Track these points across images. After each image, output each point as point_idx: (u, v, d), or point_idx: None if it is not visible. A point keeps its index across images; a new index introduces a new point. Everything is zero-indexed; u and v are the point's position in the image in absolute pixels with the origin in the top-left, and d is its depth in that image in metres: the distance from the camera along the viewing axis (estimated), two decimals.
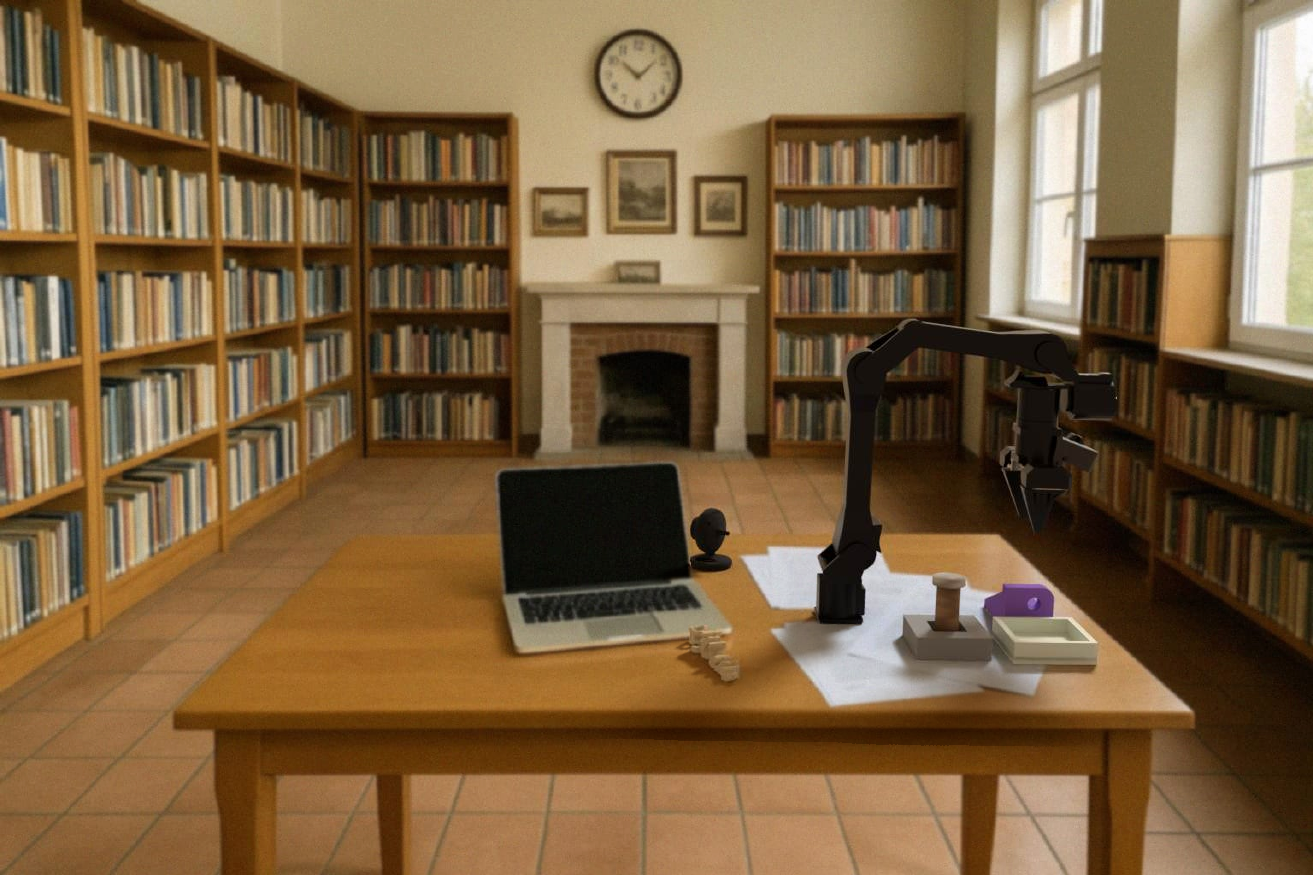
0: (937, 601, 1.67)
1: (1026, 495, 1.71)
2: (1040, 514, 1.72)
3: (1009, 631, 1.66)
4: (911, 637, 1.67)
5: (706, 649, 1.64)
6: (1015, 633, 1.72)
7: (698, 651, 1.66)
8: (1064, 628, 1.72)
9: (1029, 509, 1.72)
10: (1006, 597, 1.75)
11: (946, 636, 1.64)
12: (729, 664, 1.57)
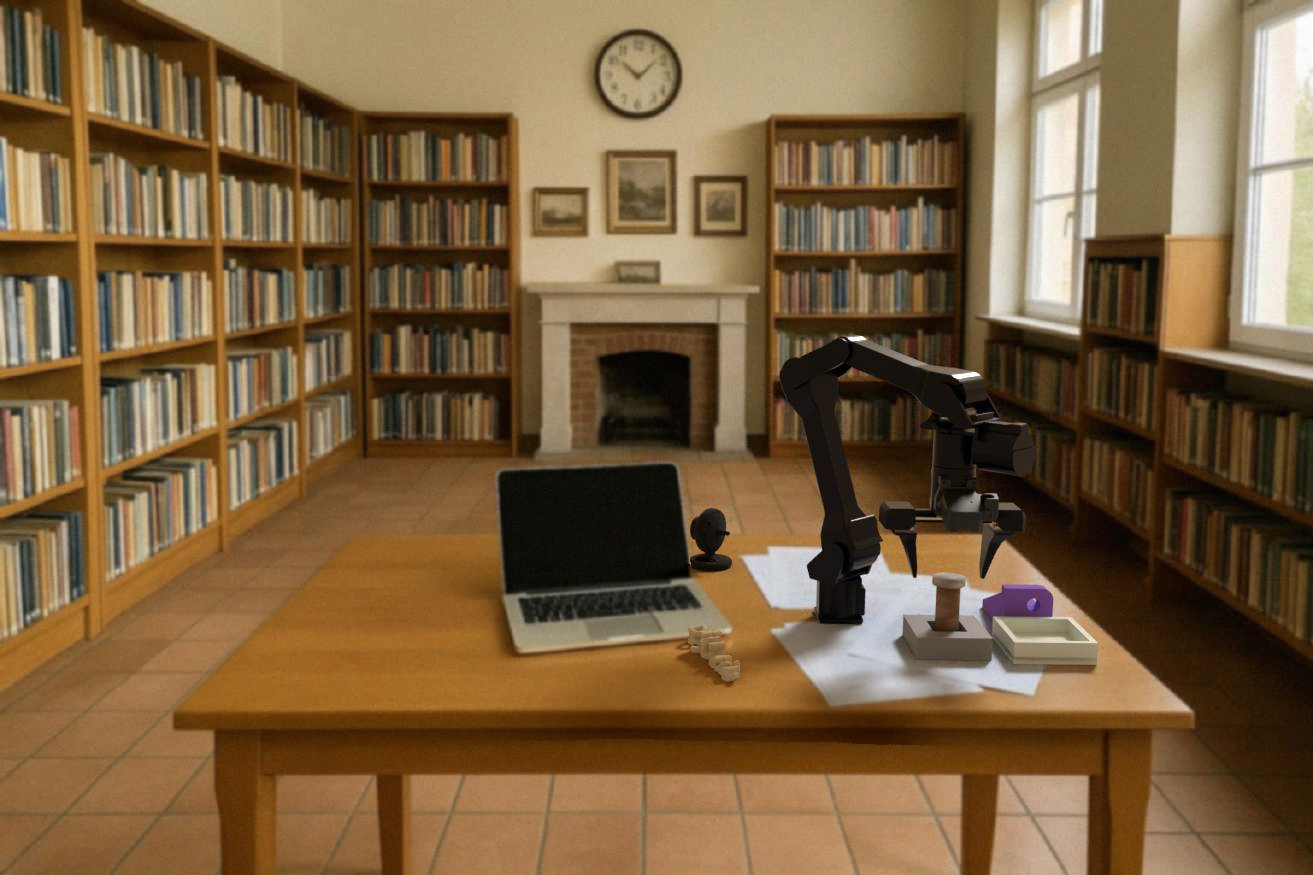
0: (937, 601, 1.67)
1: None
2: (907, 556, 1.67)
3: (1009, 631, 1.66)
4: (911, 637, 1.67)
5: (706, 649, 1.64)
6: (1015, 633, 1.72)
7: (698, 651, 1.66)
8: (1064, 628, 1.72)
9: (904, 548, 1.68)
10: (1005, 598, 1.75)
11: (946, 636, 1.64)
12: (729, 664, 1.57)
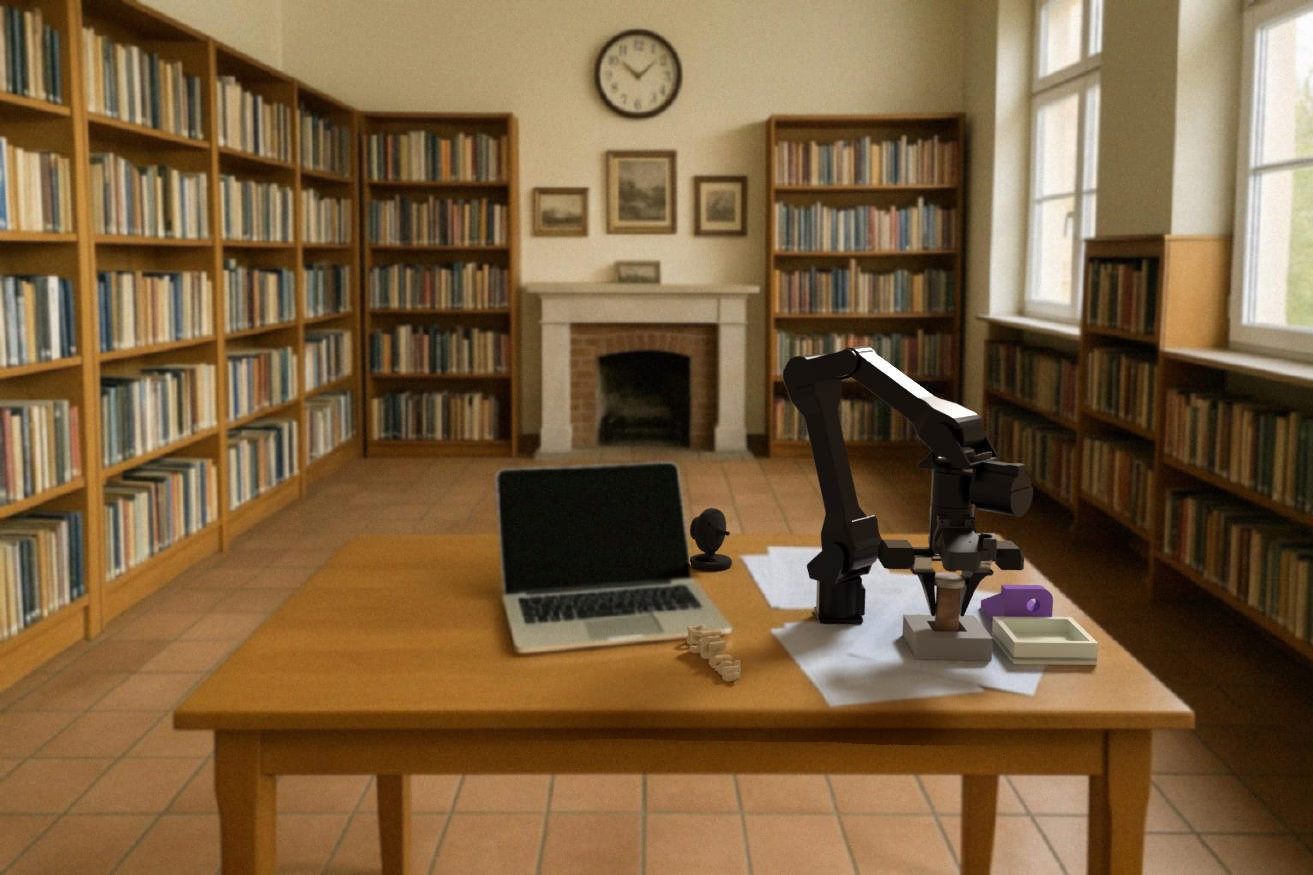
0: (937, 601, 1.67)
1: None
2: (926, 594, 1.68)
3: (1009, 631, 1.66)
4: (911, 637, 1.67)
5: (706, 649, 1.64)
6: (1015, 633, 1.72)
7: (697, 651, 1.66)
8: (1064, 628, 1.72)
9: (922, 586, 1.69)
10: (1005, 598, 1.74)
11: (946, 636, 1.64)
12: (730, 664, 1.57)
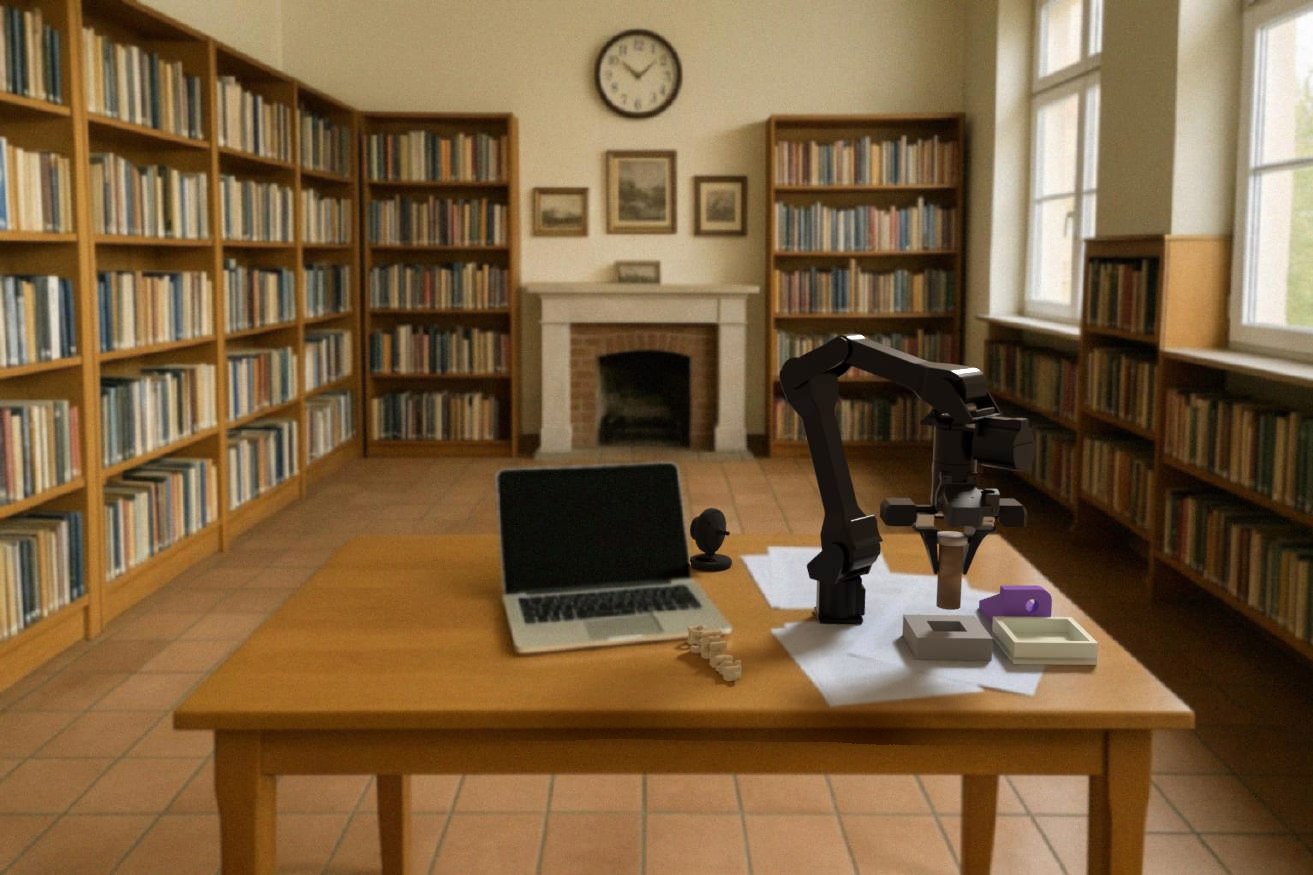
0: (939, 559, 1.66)
1: None
2: (928, 553, 1.67)
3: (1009, 631, 1.66)
4: (911, 637, 1.67)
5: (706, 649, 1.64)
6: (1015, 633, 1.72)
7: (698, 651, 1.66)
8: (1064, 628, 1.72)
9: None
10: (1004, 599, 1.74)
11: (946, 636, 1.64)
12: (731, 664, 1.57)
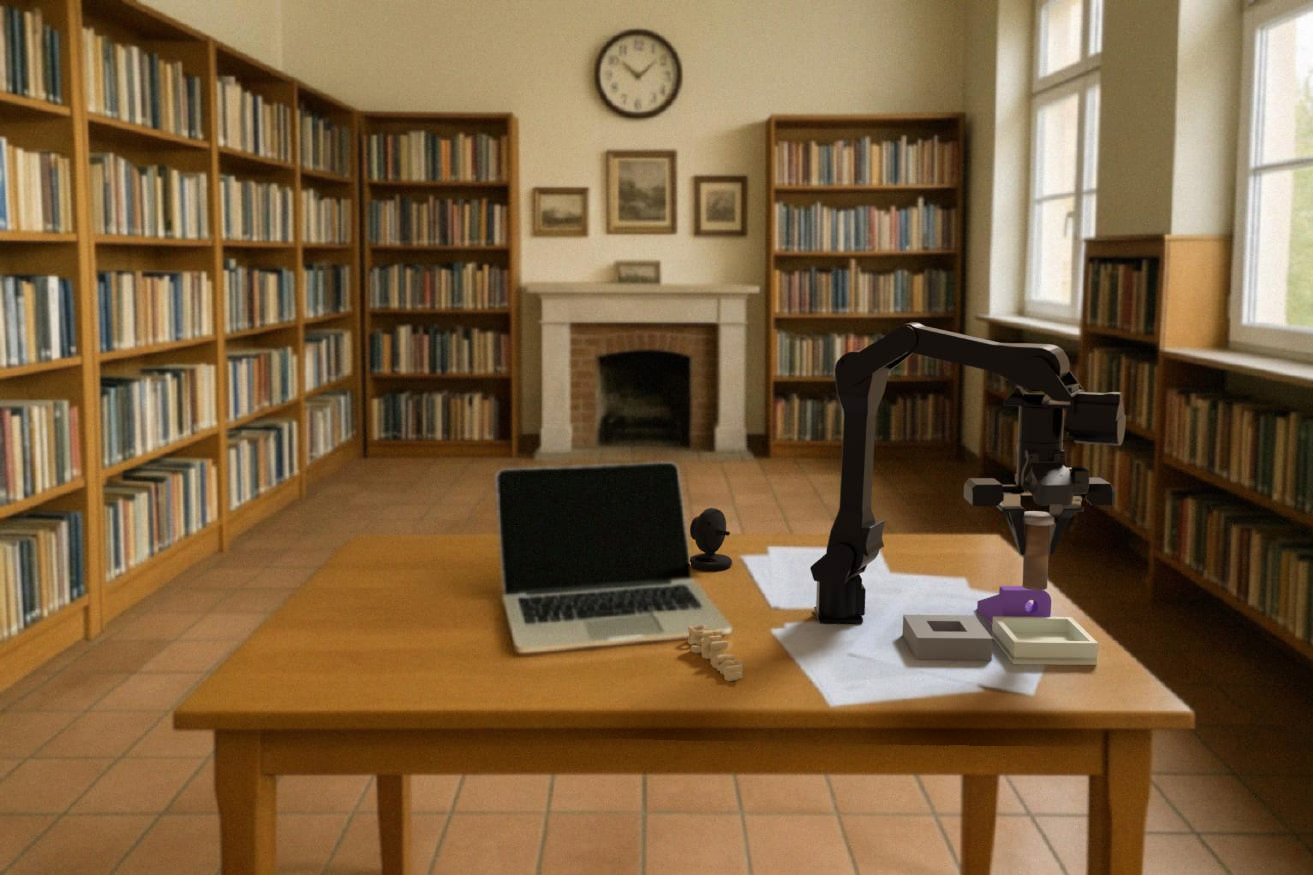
0: (1026, 539, 1.65)
1: None
2: (1014, 533, 1.65)
3: (1009, 631, 1.66)
4: (911, 637, 1.67)
5: (707, 649, 1.64)
6: (1015, 633, 1.72)
7: (698, 651, 1.66)
8: (1064, 628, 1.72)
9: None
10: (1004, 600, 1.74)
11: (946, 636, 1.64)
12: (732, 663, 1.57)
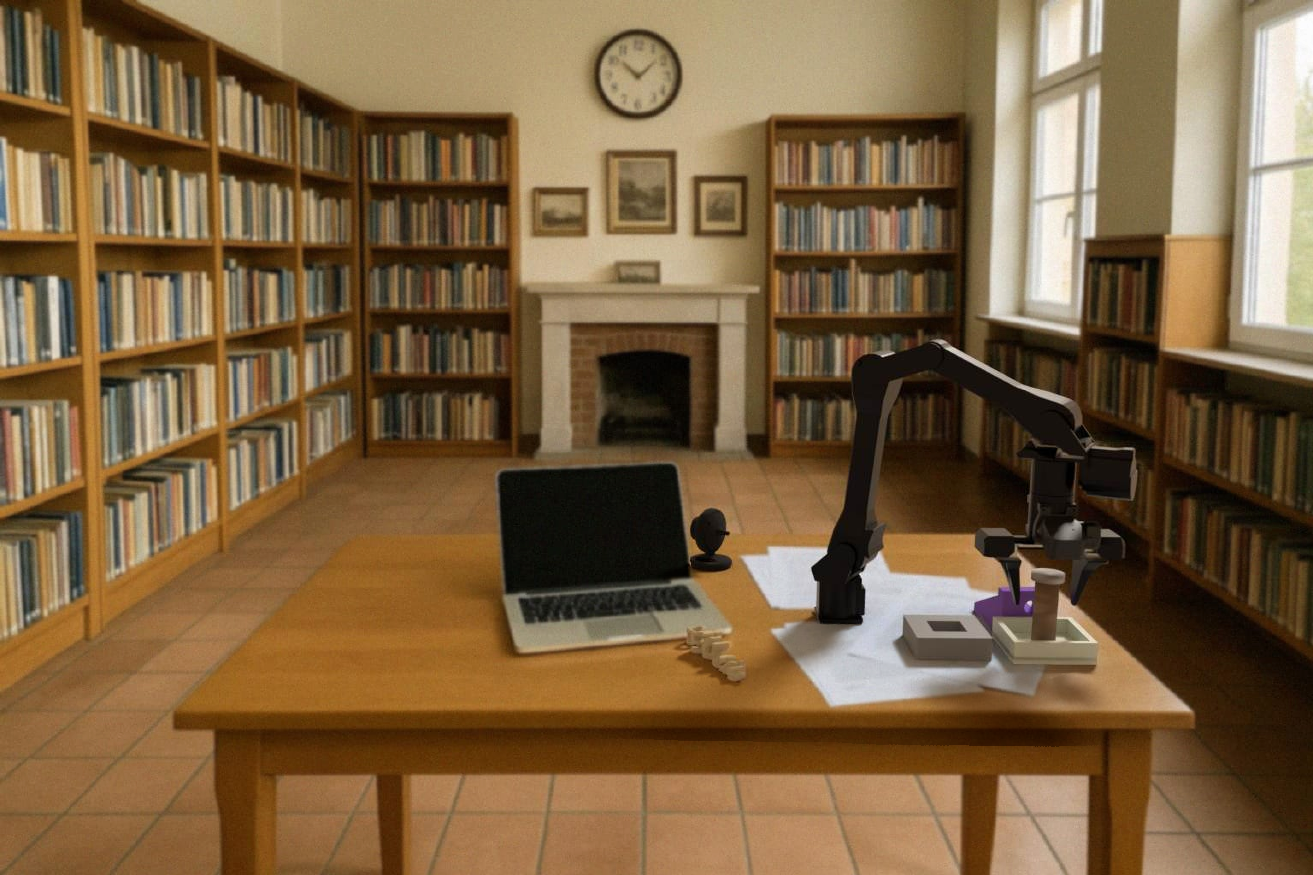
0: (1036, 597, 1.66)
1: None
2: (1010, 583, 1.66)
3: (1009, 631, 1.66)
4: (911, 637, 1.67)
5: (707, 649, 1.64)
6: (1015, 633, 1.72)
7: (698, 652, 1.66)
8: (1064, 628, 1.72)
9: None
10: (1003, 601, 1.73)
11: (946, 636, 1.64)
12: (735, 664, 1.57)
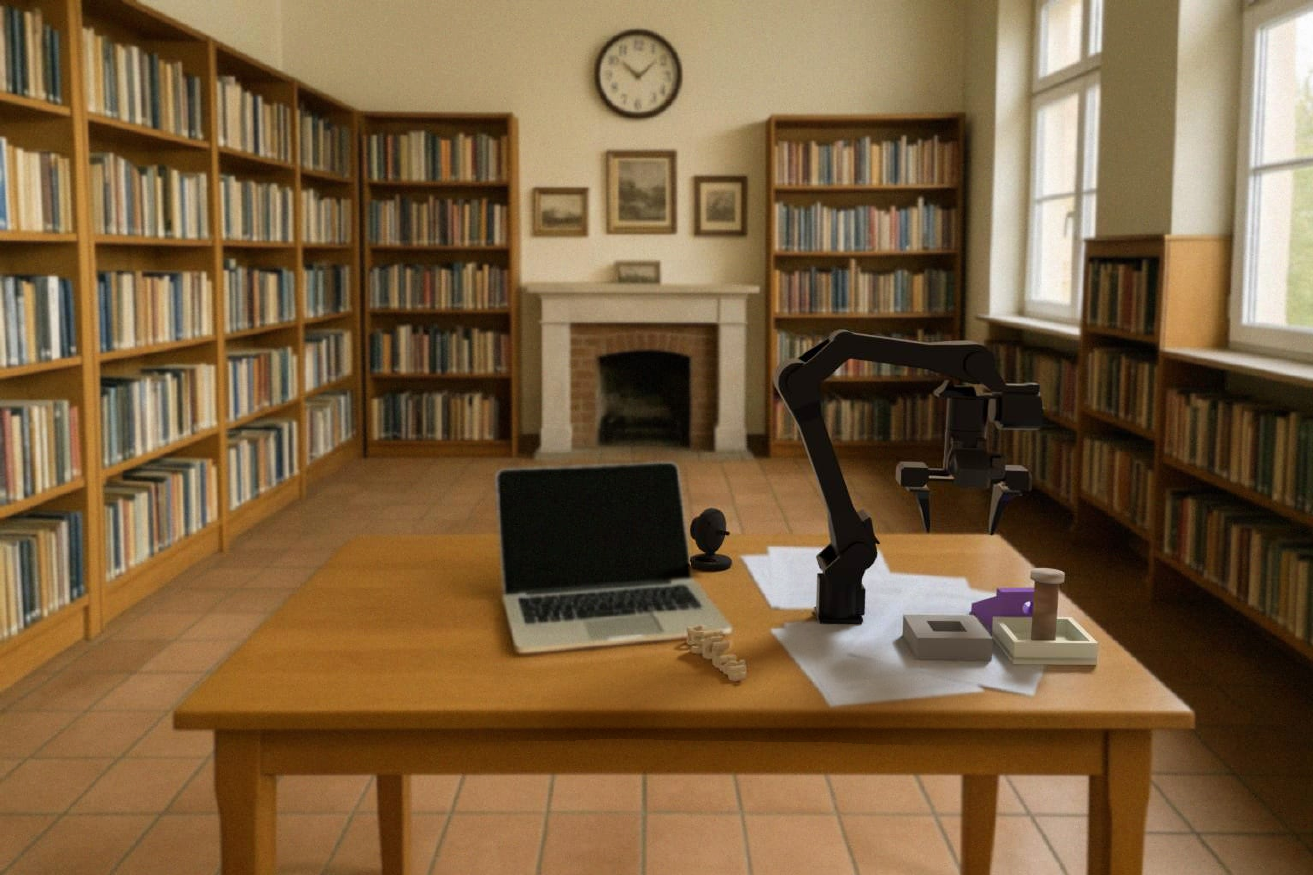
0: (1035, 596, 1.66)
1: None
2: (921, 513, 1.80)
3: (1009, 631, 1.66)
4: (911, 637, 1.67)
5: (708, 649, 1.64)
6: (1015, 633, 1.72)
7: (699, 651, 1.66)
8: (1064, 628, 1.72)
9: (918, 505, 1.81)
10: (1002, 602, 1.73)
11: (946, 636, 1.64)
12: (736, 664, 1.57)
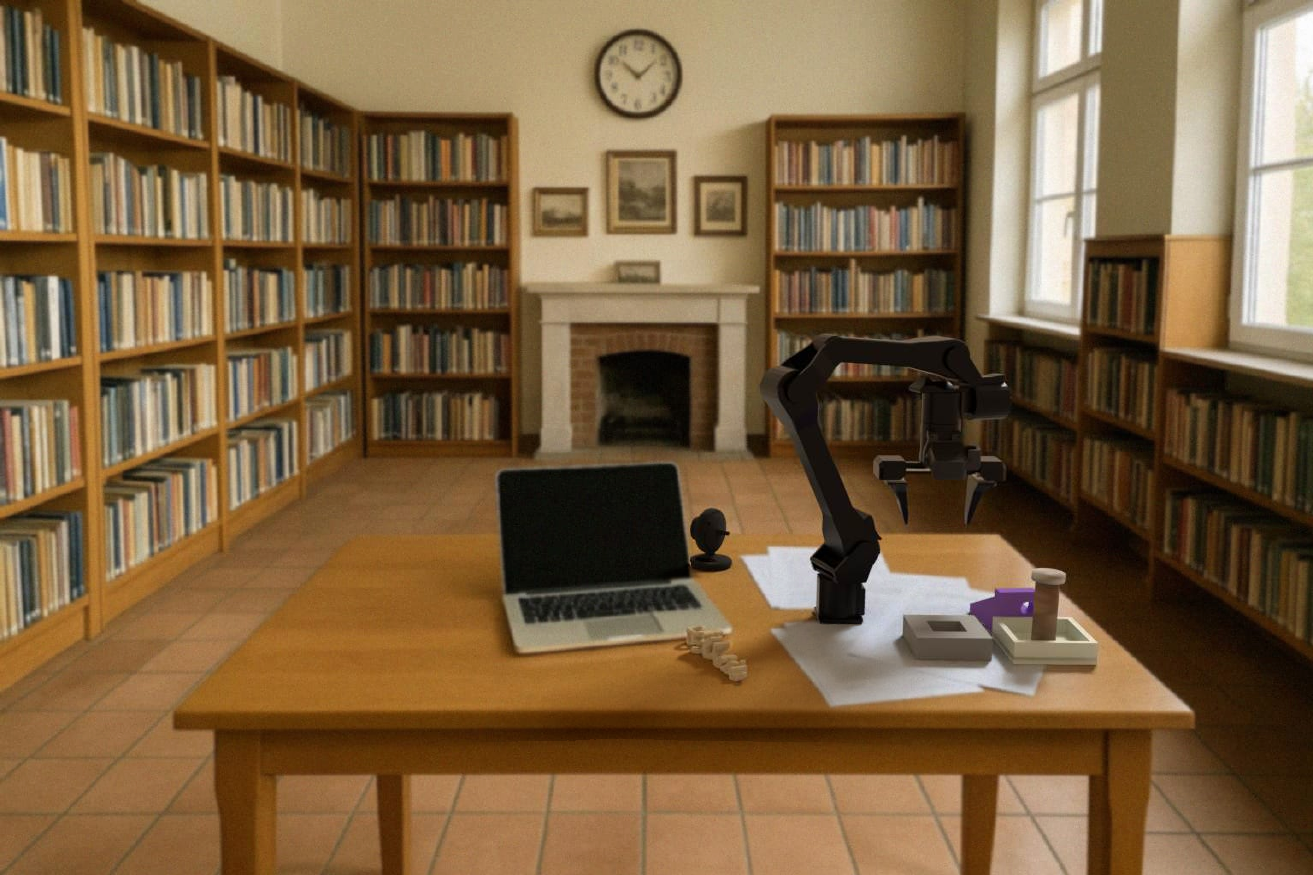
0: (1036, 597, 1.66)
1: None
2: (899, 505, 1.84)
3: (1009, 631, 1.66)
4: (911, 637, 1.67)
5: (708, 649, 1.64)
6: (1015, 633, 1.72)
7: (699, 652, 1.66)
8: (1064, 628, 1.72)
9: (896, 498, 1.85)
10: (1000, 602, 1.72)
11: (946, 636, 1.64)
12: (736, 664, 1.57)
